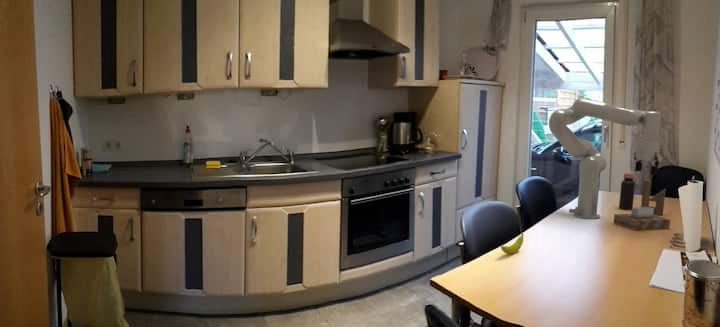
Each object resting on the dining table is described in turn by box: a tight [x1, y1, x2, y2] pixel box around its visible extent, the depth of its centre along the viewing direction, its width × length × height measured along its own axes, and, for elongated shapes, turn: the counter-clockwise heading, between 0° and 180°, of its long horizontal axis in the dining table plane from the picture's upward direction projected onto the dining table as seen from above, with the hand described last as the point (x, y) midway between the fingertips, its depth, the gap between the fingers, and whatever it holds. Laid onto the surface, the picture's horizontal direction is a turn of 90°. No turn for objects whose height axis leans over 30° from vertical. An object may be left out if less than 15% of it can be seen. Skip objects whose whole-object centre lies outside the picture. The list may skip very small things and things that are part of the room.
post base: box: [613, 213, 671, 232], centre depth 260 cm, size 20×14×4 cm
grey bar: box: [630, 206, 654, 219], centre depth 260 cm, size 9×4×8 cm, turn 105°
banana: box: [500, 233, 525, 255], centre depth 210 cm, size 3×19×6 cm, turn 139°
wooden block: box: [639, 179, 667, 217], centre depth 287 cm, size 4×11×18 cm, turn 55°
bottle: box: [618, 172, 636, 211], centre depth 297 cm, size 7×7×20 cm
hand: (645, 172), depth 257 cm, fingers open, 9 cm apart
